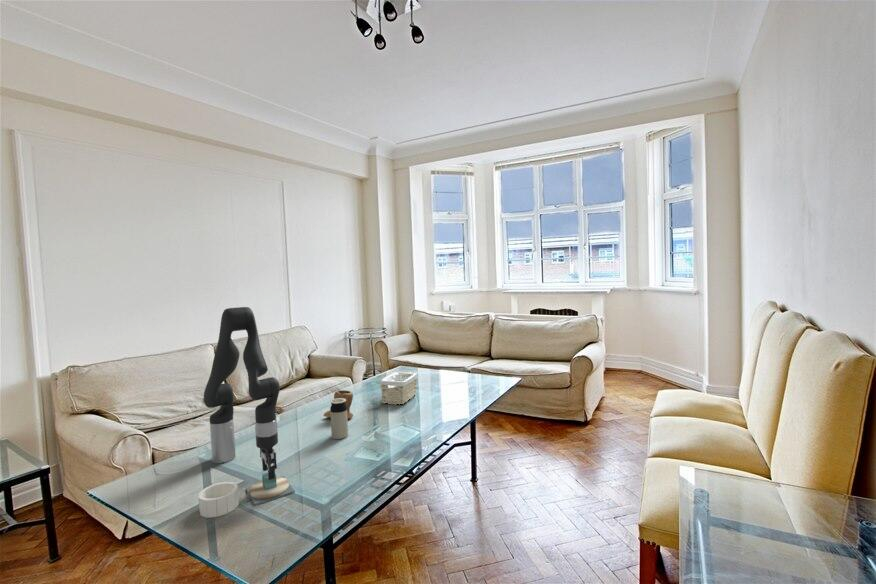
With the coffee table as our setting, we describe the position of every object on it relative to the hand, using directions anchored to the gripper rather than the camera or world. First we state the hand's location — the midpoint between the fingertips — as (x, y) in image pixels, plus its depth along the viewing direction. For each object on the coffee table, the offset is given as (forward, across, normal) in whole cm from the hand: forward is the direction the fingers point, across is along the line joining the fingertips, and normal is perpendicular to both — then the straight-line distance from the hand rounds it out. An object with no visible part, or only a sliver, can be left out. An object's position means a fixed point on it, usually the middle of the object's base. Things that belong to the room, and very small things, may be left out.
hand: (268, 474), depth 157 cm
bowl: (+6, 0, -17) cm, 18 cm away
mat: (+6, 0, 0) cm, 6 cm away
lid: (+6, 0, 0) cm, 6 cm away
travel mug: (+7, -32, +41) cm, 52 cm away
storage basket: (+7, -63, +94) cm, 113 cm away
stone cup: (+7, -57, +52) cm, 77 cm away
